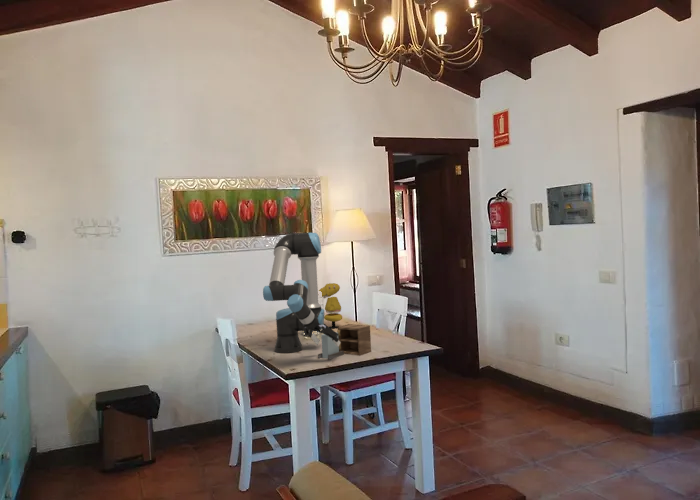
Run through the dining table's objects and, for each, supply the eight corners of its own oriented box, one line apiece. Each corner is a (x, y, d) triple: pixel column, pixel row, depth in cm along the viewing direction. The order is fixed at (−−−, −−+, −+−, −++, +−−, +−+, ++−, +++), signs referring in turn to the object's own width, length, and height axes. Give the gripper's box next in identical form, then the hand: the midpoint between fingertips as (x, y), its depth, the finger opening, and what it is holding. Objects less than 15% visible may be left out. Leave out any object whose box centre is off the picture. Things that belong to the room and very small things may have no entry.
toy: (318, 329, 380) (315, 284, 379) (321, 326, 392) (319, 282, 391) (341, 329, 378) (339, 283, 377) (344, 325, 391) (341, 282, 389)
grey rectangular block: (322, 358, 296) (321, 334, 295) (333, 354, 303) (332, 331, 303) (328, 358, 293) (327, 335, 293) (339, 355, 301) (338, 332, 300)
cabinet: (318, 358, 296) (316, 331, 295) (345, 348, 315) (344, 323, 315) (344, 361, 286) (342, 333, 285) (371, 351, 305) (369, 325, 305)
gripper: (286, 323, 289) (306, 347, 302) (325, 326, 274) (345, 351, 287) (292, 311, 293) (312, 335, 306) (331, 313, 279) (350, 339, 291)
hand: (328, 343), depth 296 cm, fingers open, 13 cm apart
